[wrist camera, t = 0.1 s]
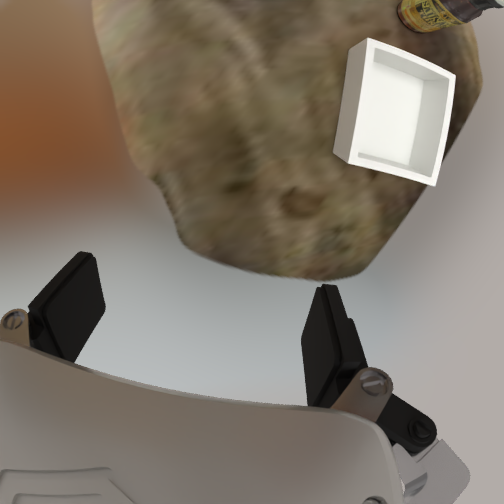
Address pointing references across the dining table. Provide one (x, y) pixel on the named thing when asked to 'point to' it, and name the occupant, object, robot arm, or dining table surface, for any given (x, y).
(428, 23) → the sauce bottle
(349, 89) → the storage box
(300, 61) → the dining table surface
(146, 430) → the robot arm
